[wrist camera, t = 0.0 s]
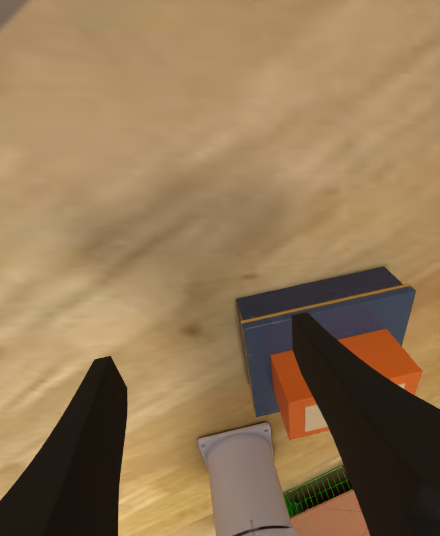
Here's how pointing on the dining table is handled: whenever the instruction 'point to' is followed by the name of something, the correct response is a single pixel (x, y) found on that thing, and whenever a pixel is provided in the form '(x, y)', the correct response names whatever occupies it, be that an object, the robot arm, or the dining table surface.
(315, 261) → the dining table surface
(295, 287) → the biscuit tin
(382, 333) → the snack box
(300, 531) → the house
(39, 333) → the dining table surface
